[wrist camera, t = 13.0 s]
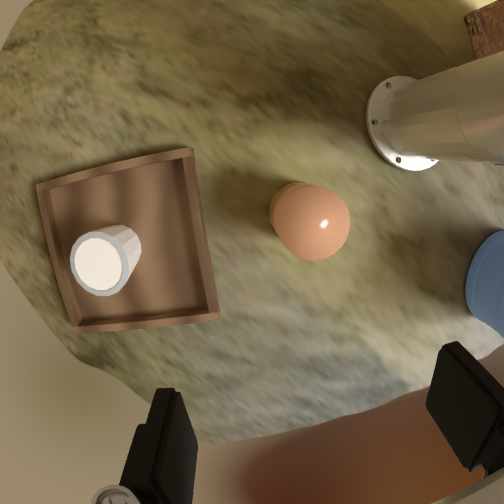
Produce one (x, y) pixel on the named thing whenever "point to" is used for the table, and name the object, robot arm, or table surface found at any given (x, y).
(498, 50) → the book
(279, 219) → the peach rounded capsule
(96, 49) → the table surface
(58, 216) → the walnut tray
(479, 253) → the water jug
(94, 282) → the white tapered cup
